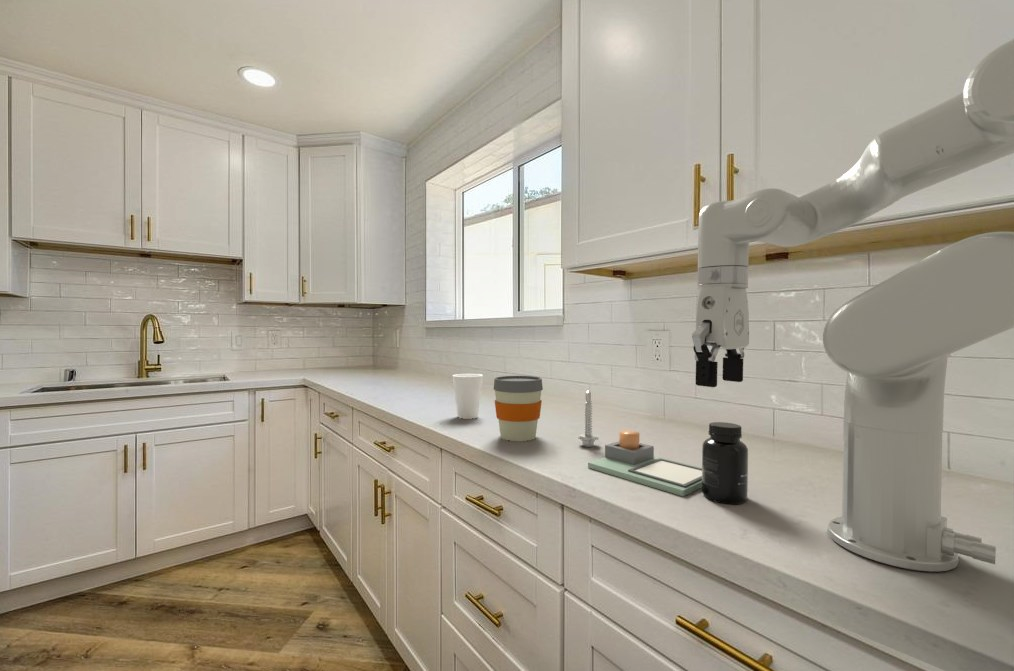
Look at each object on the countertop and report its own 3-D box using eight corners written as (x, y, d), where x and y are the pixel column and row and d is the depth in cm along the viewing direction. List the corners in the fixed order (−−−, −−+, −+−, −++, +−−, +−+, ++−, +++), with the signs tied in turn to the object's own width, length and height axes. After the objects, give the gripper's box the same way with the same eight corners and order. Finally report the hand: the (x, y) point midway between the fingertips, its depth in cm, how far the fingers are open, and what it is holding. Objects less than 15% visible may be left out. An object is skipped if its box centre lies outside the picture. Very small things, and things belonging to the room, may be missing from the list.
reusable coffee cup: (486, 433, 117) (486, 376, 117) (529, 429, 122) (529, 374, 122) (504, 445, 105) (504, 382, 105) (551, 440, 110) (551, 379, 110)
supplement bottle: (753, 506, 69) (754, 430, 69) (707, 503, 71) (707, 428, 71) (740, 490, 76) (740, 421, 76) (697, 488, 78) (698, 419, 77)
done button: (643, 452, 92) (643, 432, 92) (632, 455, 89) (632, 436, 89) (626, 448, 95) (626, 429, 95) (615, 451, 92) (615, 432, 92)
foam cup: (471, 412, 146) (471, 373, 145) (489, 417, 138) (488, 375, 138) (447, 416, 140) (446, 375, 139) (463, 421, 132) (463, 377, 132)
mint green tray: (720, 477, 83) (721, 459, 83) (683, 496, 74) (683, 475, 74) (628, 454, 98) (628, 438, 98) (587, 467, 89) (588, 450, 89)
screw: (579, 448, 103) (576, 442, 108) (600, 448, 103) (596, 442, 108) (579, 392, 103) (576, 389, 107) (600, 392, 103) (596, 389, 107)
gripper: (722, 274, 65) (719, 391, 65) (767, 281, 76) (764, 381, 76) (673, 277, 70) (671, 385, 71) (722, 284, 82) (720, 377, 82)
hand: (719, 383), depth 74 cm, fingers open, 9 cm apart
